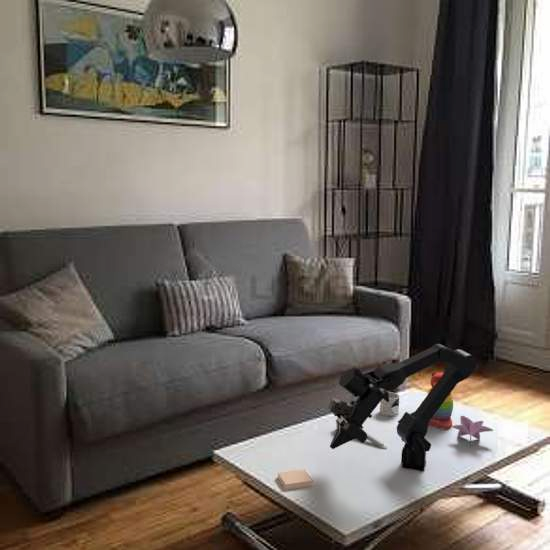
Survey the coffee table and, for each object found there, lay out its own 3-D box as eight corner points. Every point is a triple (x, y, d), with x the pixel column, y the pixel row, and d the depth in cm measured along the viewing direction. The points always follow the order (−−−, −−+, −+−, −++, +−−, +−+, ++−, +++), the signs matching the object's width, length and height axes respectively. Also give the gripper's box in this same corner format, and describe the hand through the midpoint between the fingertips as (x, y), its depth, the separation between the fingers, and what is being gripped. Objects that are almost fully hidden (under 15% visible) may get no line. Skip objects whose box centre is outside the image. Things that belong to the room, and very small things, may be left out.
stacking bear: (417, 423, 220) (420, 374, 217) (428, 414, 228) (431, 366, 225) (447, 430, 214) (451, 380, 211) (457, 421, 222) (461, 372, 219)
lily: (497, 449, 202) (495, 419, 206) (481, 446, 194) (479, 414, 197) (462, 450, 210) (460, 420, 213) (445, 446, 202) (444, 416, 205)
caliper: (336, 429, 214) (336, 412, 212) (338, 429, 214) (338, 411, 213) (384, 449, 199) (385, 431, 198) (386, 448, 200) (387, 430, 199)
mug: (394, 417, 224) (395, 400, 223) (377, 413, 227) (377, 396, 226) (404, 408, 232) (405, 391, 231) (387, 405, 236) (388, 388, 235)
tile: (304, 469, 182) (277, 472, 179) (312, 480, 175) (285, 484, 173) (303, 475, 182) (277, 479, 180) (312, 487, 176) (285, 491, 173)
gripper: (336, 380, 189) (304, 422, 188) (351, 396, 170) (315, 441, 170) (364, 402, 190) (332, 443, 189) (382, 420, 171) (347, 465, 171)
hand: (331, 447), depth 180 cm, fingers closed
